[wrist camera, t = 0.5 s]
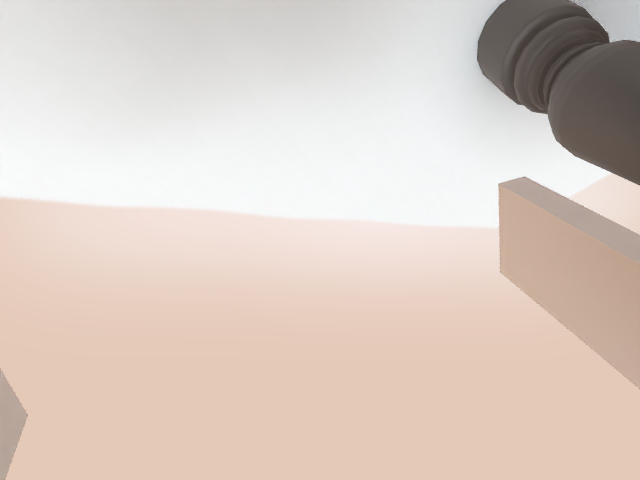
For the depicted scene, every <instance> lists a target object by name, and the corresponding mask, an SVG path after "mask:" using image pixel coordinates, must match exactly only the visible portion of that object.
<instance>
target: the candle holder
mask: <svg viewBox="0 0 640 480" xmlns="http://www.w3.org/2000/svg"><path fill="white" fill-rule="evenodd" d="M477 60H478V62H479V65H480V68H481V70H482V73H483V74H484V75H485V76H486V77H487V78H488V79H489V80H490V81H491V82H492V83H493V84H495V85H496V86H497V87H498V88H499V89H500V90H501V91H502V92H503V93H504V94H505V95H507V96H508V97H509V98H510V99H512V100H513V101H514V102H515V103H516V104H519V105H524V106H526V107H527V108H528V109H529V110H530V111H532V112H537V113H543V114H548V119H549V122H550V125H551V128H552V132H553V134H554V136H555V139H556V141H558V142H559V143H560V144H561V145H562V146H563V147H564V148H566V149H567V150H568V151H569V152H571V153H572V154H573V155H574V156H576V157H578V158H581V159H583V160H585V161H587V162H589V163H592V164H594V165H596V166H598V167H601V168H603V169H605V170H607V171H610V172H612V173H614V174H616V175H618V176H621V177H623V178H625V179H627V180H629V181H631V182H634V183H636V184H638V185H640V42H636V41H630V40H622V41H617V42H612V43H610V42H609V36H608V33H607V32H606V31H605V30H604V28H603V27H602V26H601V25H600V24H599V23H598V22H597V21H596V20H594V19H593V18H592V16H591V15H590V14H589V13H588V12H587V11H586V10H585V9H584V8H582V7H580V6H579V5H577V4H575V3H573V2H571V1H569V0H507V1H505V2H504V3H502V4H501V5H500V6H499V7H498V8H497V10H496V11H495V12H494V13H493V14H492V16H491V17H490V18H489V19H488V20H487V22H486V24H485V26H484V29H483V31H482V33H481V36H480V38H479V41H478V56H477Z"/></svg>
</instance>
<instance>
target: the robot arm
mask: <svg viewBox="0 0 640 480" xmlns="http://www.w3.org/2000/svg"><path fill="white" fill-rule="evenodd" d="M498 185H499V237H500V272H501V273H502V274H503V275H504V276H505V277H507V278H508V279H509V280H510V281H511V282H513V283H514V284H515V285H516V286H517V287H519V288H520V289H521V290H522V291H523V292H524V293H526V294H527V295H528V296H529V297H530V298H532V299H533V300H534V301H535V302H536V303H538V304H539V305H540V306H541V307H542V308H544V309H545V310H546V311H547V312H548V313H549V314H551V315H552V316H553V317H554V318H555V319H557V320H558V321H559V322H560V323H561V324H563V325H564V326H565V327H566V328H567V329H569V330H570V331H571V332H572V333H573V334H575V335H576V336H577V337H578V338H579V339H580V340H582V341H583V342H584V343H585V344H586V345H588V346H589V347H590V348H591V349H593V350H594V351H595V352H596V353H597V354H598V355H600V356H601V357H602V358H603V359H604V360H606V361H607V362H608V363H609V364H610V365H612V366H613V367H614V368H615V369H616V370H617V371H619V372H620V373H621V374H622V375H623V376H625V377H626V378H627V379H628V380H630V381H631V382H632V383H633V384H634V385H635V386H637V387H638V388H639V389H640V235H639V234H637V233H635V232H633V231H631V230H629V229H627V228H625V227H623V226H621V225H619V224H617V223H615V222H613V221H611V220H609V219H607V218H605V217H603V216H601V215H599V214H598V213H595V212H594V211H592V210H590V209H588V208H586V207H584V206H582V205H580V204H578V203H576V202H574V201H572V200H570V199H568V198H566V197H564V196H562V195H560V194H558V193H556V192H554V191H552V190H550V189H548V188H546V187H544V186H542V185H540V184H538V183H536V182H534V181H532V180H530V179H528V178H526V177H521V178H517V179H514V180H510V181H506V182H503V183H499V184H498ZM27 416H28V414H27V413H26V411H25V409H24V408H23V406H22V404H21V403H20V401H19V399H18V397H17V396H16V394H15V392H14V391H13V389H12V387H11V386H10V384H9V382H8V381H7V379H6V377H5V376H4V374H3V372H2V371H1V369H0V480H5V479H6V476H7V473H8V470H9V467H10V464H11V462H12V458H13V456H14V453H15V450H16V447H17V444H18V442H19V439H20V436H21V433H22V430H23V427H24V425H25V421H26V419H27Z"/></svg>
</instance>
